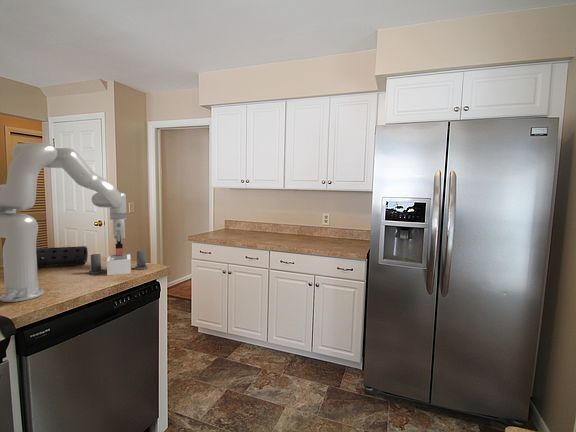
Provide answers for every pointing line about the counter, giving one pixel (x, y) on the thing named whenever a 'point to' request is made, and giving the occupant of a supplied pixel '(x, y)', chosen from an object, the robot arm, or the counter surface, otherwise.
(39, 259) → the muzzle brake
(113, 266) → the switch box
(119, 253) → the slider
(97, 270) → the gray post with base
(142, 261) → the spool right
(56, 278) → the counter surface
